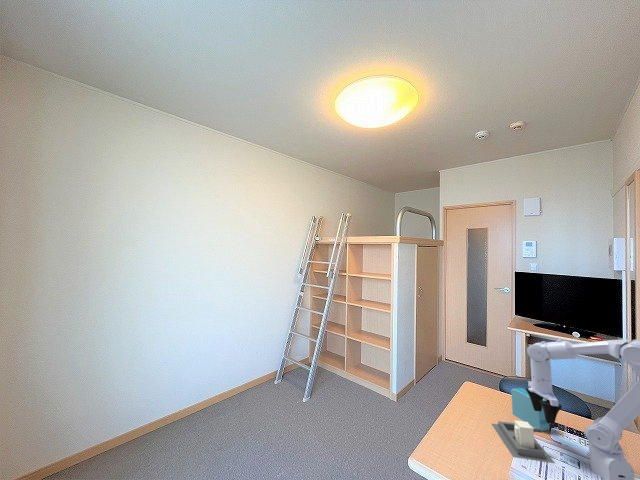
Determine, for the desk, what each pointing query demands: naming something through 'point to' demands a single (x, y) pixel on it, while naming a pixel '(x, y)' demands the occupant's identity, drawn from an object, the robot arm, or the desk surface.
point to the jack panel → (509, 440)
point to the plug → (525, 434)
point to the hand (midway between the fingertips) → (543, 416)
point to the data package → (527, 409)
